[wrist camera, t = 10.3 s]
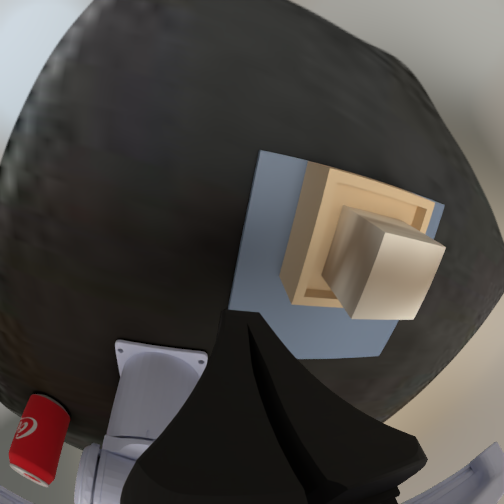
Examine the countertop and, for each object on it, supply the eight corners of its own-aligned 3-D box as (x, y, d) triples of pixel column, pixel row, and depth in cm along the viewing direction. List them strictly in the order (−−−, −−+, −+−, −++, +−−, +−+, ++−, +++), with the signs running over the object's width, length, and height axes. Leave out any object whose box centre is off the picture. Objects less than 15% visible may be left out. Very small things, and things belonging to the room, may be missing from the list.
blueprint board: (376, 351, 25) (394, 379, 21) (220, 350, 22) (222, 388, 18) (440, 203, 19) (472, 218, 15) (259, 149, 16) (272, 154, 12)
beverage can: (25, 385, 22) (-4, 455, 12) (61, 396, 23) (36, 476, 13) (43, 412, 25) (22, 477, 14) (77, 422, 26) (60, 494, 15)
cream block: (377, 281, 17) (413, 319, 13) (321, 275, 17) (350, 318, 13) (400, 219, 16) (445, 247, 12) (342, 204, 15) (385, 232, 11)
